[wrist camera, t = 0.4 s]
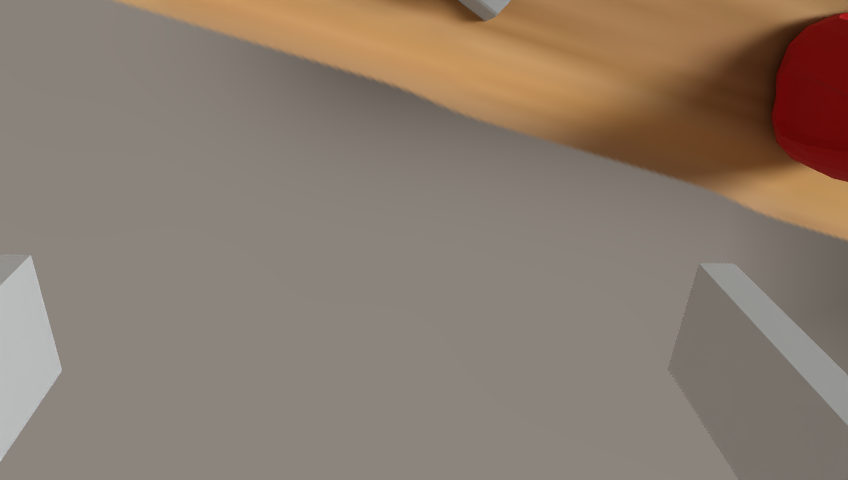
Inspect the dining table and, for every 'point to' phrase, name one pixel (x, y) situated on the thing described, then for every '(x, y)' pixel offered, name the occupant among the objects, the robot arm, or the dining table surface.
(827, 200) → the dining table surface
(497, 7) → the grey rounded block
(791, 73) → the water bottle
